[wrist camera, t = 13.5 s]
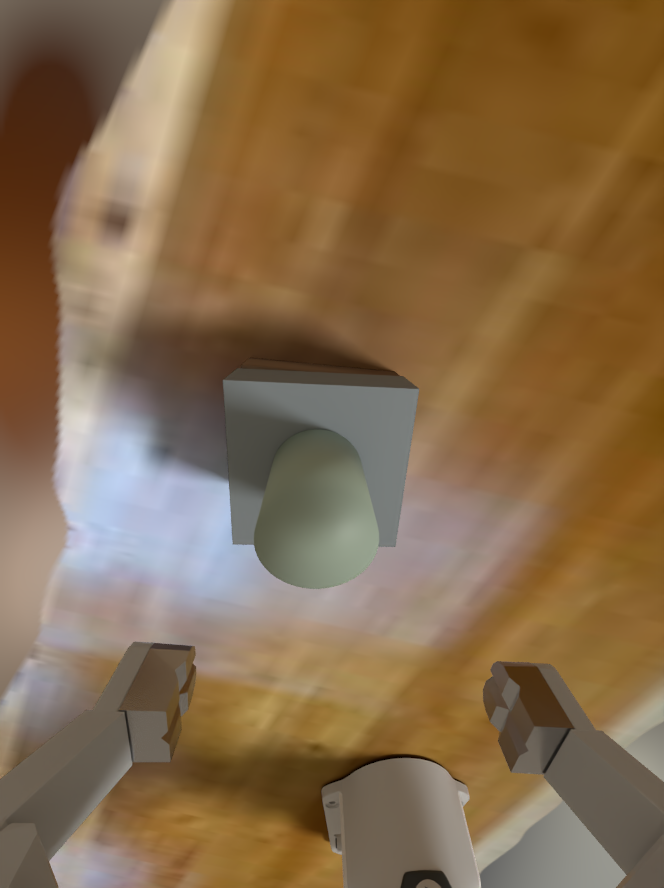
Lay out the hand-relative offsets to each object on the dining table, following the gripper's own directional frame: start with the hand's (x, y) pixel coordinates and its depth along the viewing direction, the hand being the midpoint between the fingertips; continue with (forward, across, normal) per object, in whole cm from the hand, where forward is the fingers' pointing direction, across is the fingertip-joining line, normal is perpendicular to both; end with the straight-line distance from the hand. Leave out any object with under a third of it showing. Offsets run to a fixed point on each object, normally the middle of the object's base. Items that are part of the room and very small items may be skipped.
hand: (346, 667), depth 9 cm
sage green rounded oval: (+11, +1, 0) cm, 11 cm away
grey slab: (+14, +1, 0) cm, 15 cm away
